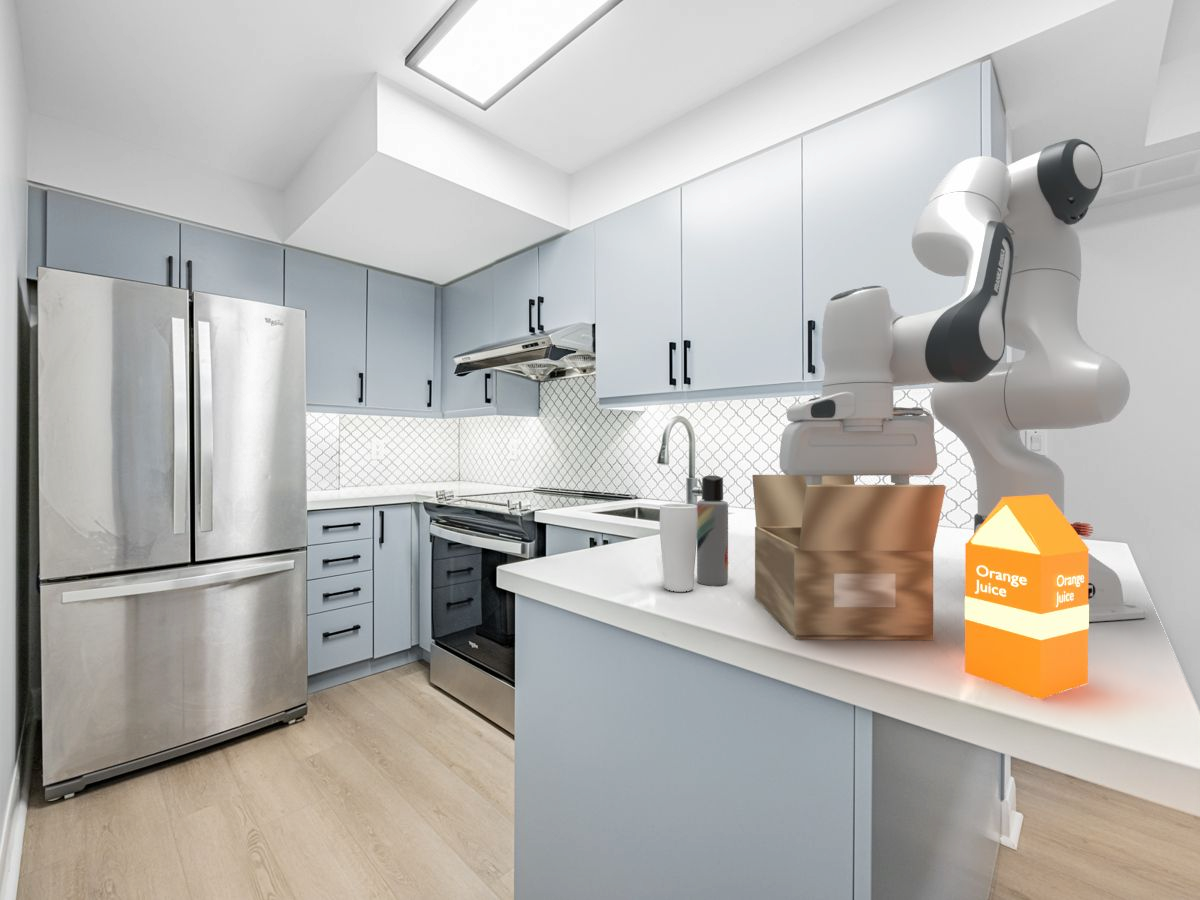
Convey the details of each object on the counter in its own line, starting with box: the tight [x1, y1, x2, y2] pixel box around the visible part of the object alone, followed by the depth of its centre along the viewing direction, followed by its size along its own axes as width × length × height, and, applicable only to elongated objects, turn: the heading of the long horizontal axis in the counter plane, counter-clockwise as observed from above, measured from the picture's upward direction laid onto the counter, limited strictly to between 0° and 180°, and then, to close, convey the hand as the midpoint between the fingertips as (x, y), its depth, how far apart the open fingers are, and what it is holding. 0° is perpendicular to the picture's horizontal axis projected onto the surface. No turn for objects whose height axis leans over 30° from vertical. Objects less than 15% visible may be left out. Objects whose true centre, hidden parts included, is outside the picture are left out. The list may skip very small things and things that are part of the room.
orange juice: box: [964, 495, 1090, 700], centre depth 61 cm, size 8×9×20 cm
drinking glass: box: [659, 503, 698, 593], centre depth 99 cm, size 7×7×15 cm
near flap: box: [799, 484, 947, 552], centre depth 71 cm, size 17×9×1 cm
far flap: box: [751, 474, 856, 527], centre depth 95 cm, size 17×9×1 cm
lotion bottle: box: [696, 475, 729, 587], centre depth 104 cm, size 6×6×20 cm
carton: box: [754, 526, 934, 641], centre depth 83 cm, size 18×20×12 cm
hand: (857, 509), depth 76 cm, fingers open, 8 cm apart
